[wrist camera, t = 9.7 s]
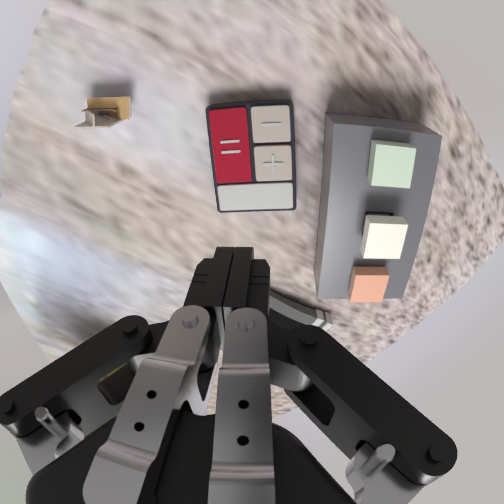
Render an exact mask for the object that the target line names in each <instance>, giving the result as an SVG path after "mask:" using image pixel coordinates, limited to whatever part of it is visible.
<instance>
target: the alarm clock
mask: <svg viewBox="0 0 504 504" xmlns="http://www.w3.org/2000/svg"><path fill="white" fill-rule="evenodd" d="M269 318H270V319H271V321H272V322H273V323H274V324H276V325H277V326H279V327H281V328H284V329H287V330H291V331H292V330H293V329H294V328H296V327H298V326H301V325H314V326H318V327H320V328H322V329H323V330H325V331H327V330H328V329H329V328H330V327H331V326H332V325H333V323H332V319H331V315H330V313H328V312H326V311H325V312H324V313H323V312H322V311H321V310H318V309H316V310H314V309H311V308H309V307H306V306H303V305H301V304H298V303H296V302H293V301H291V300H289V299H287V298H285V297H283V296H281V295H279V294H277V293H275V292H273V291H271V290H270V303H269Z"/></svg>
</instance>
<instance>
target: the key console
mask: <svg viewBox="0 0 504 504" xmlns="http://www.w3.org/2000/svg"><path fill="white" fill-rule="evenodd" d="M441 139H442V136H441V135H439V134H437V133H436V132H434V131H432V130H431V129H429V128H427V127H426V126H424V125H422V124H420V123H414V122H408V121H401V120H393V119H385V118H377V117H367V116H357V115H345V114H330V113H325V130H324V151H323V169H322V184H321V198H320V211H319V222H318V234H317V244H316V254H315V264H314V276H315V284H316V292H317V299H349V296H348V290H349V285H350V281H351V276H352V271H353V266H361V267H386V268H387V270H388V273H389V275H390V276H389V280H388V283H387V286H386V290H385V293H384V296H383V299H388V298H402V297H403V294H404V291H405V288H406V285H407V282H408V279H409V276H410V273H411V269H412V266H413V263H414V260H415V256H416V253H417V249H418V246H419V242H420V239H421V235H422V231H423V227H424V223H425V219H426V215H427V211H428V207H429V203H430V198H431V194H432V189H433V184H434V179H435V174H436V169H437V164H438V158H439V152H440V146H441ZM371 140H382V141H391V142H400V143H408V144H411V145H412V146H414V147H415V148H416V155H415V161H414V167H413V173H412V179H411V185H410V188H398V187H385V186H371V184H370V183H369V181H368V180H367V176H368V167H369V159H370V149H371ZM366 211H372V212H388V213H389V215H390V216H398V217H404V219H405V221H406V222H407V224H408V228H407V232H406V236H405V240H404V244H403V248H402V252H401V256H400V259H372V258H363V256H362V253H361V250H360V248H361V242H362V237H363V231H364V230H363V226H364V220H365V214H366Z"/></svg>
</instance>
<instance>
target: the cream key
mask: <svg viewBox="0 0 504 504" xmlns="http://www.w3.org/2000/svg"><path fill="white" fill-rule="evenodd" d="M407 228H408V224H407V222H406V221H405V219H404V217H398V216H390V215H389V213H388V212H372V211H366V214H365V220H364V226H363V230H364V231H363V237H362V242H361V248H360V250H361V253H362V256H363V258H372V259H400V256H401V252H402V248H403V244H404V240H405V236H406V232H407Z"/></svg>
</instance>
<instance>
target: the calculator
mask: <svg viewBox="0 0 504 504" xmlns="http://www.w3.org/2000/svg"><path fill="white" fill-rule="evenodd" d="M206 119H207V128H208V136H209V145H210V154H211V162H212V170H213V178H214V186H215V194H216V202H217V209H218V212H220V213H225V212H250V211H282V210H295V209H296V165H295V136H294V113H293V103H292V101H291V100H264V101H247V102H234V103H223V104H213V105H210V106H208V107H207V108H206Z"/></svg>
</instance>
